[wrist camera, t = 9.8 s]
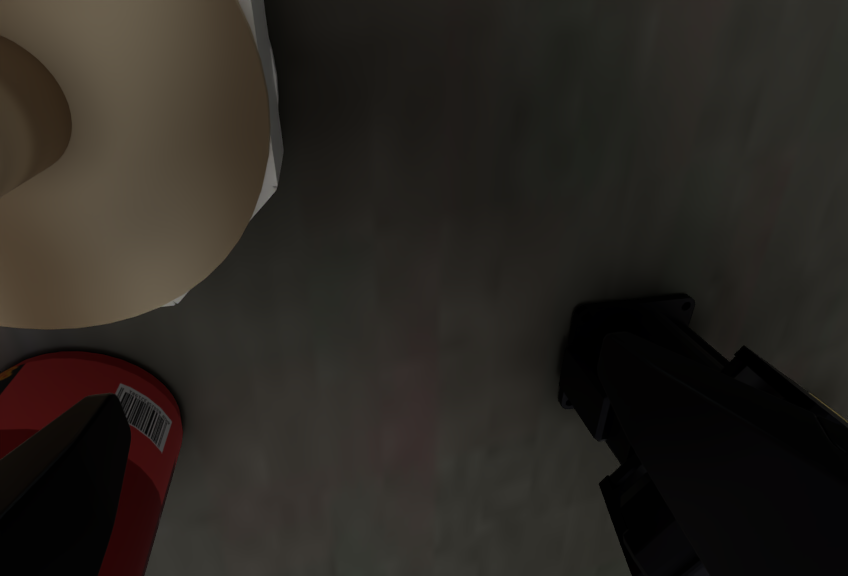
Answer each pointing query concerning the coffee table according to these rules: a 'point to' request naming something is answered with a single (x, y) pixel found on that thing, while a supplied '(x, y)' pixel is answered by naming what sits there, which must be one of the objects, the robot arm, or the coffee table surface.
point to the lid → (123, 153)
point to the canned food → (150, 436)
